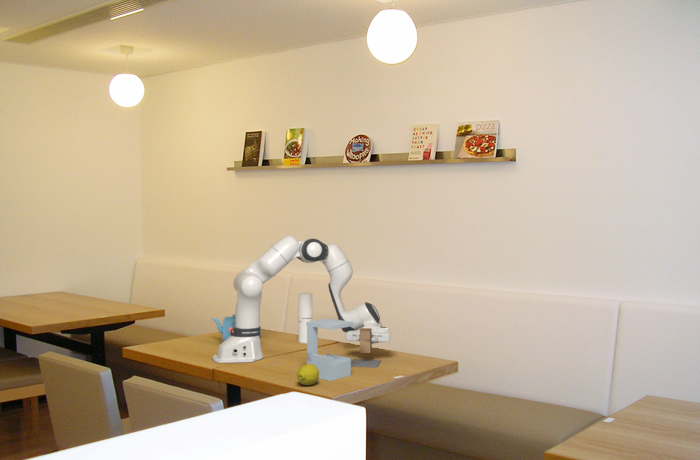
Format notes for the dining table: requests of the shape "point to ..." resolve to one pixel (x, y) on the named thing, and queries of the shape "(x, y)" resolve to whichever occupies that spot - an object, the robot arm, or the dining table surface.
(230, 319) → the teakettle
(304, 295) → the cylindrical container
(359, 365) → the felt mat
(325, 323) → the grey cantilever stand
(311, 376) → the lemon
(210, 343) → the dining table surface
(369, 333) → the walnut block
